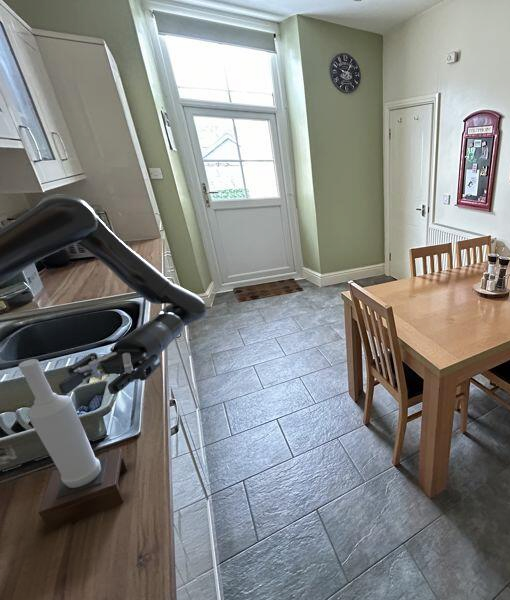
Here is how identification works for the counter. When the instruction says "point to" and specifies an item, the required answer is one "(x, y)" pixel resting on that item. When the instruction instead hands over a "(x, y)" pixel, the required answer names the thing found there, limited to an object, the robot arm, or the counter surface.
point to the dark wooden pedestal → (83, 493)
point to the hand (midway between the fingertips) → (86, 390)
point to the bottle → (60, 429)
